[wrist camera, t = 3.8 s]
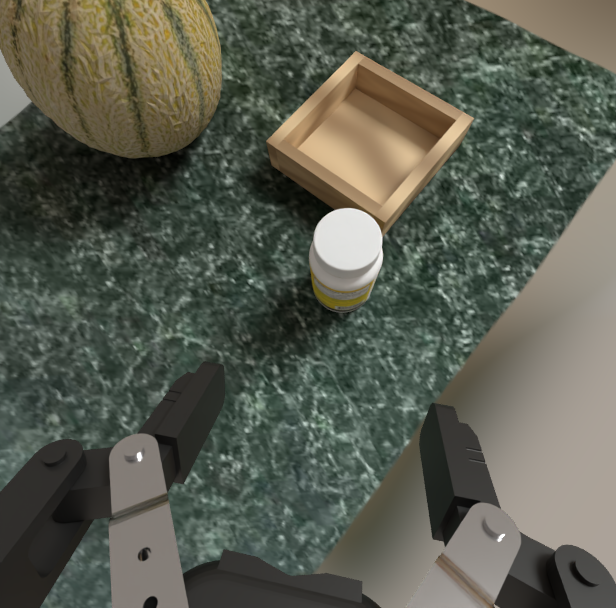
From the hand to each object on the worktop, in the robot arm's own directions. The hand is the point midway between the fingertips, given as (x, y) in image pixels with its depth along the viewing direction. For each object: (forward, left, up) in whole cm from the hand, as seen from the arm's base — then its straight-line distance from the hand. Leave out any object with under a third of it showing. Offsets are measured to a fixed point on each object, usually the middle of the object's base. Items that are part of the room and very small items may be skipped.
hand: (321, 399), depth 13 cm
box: (+19, +11, -13) cm, 25 cm away
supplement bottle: (+8, +5, -13) cm, 16 cm away
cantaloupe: (+10, +28, -13) cm, 32 cm away
